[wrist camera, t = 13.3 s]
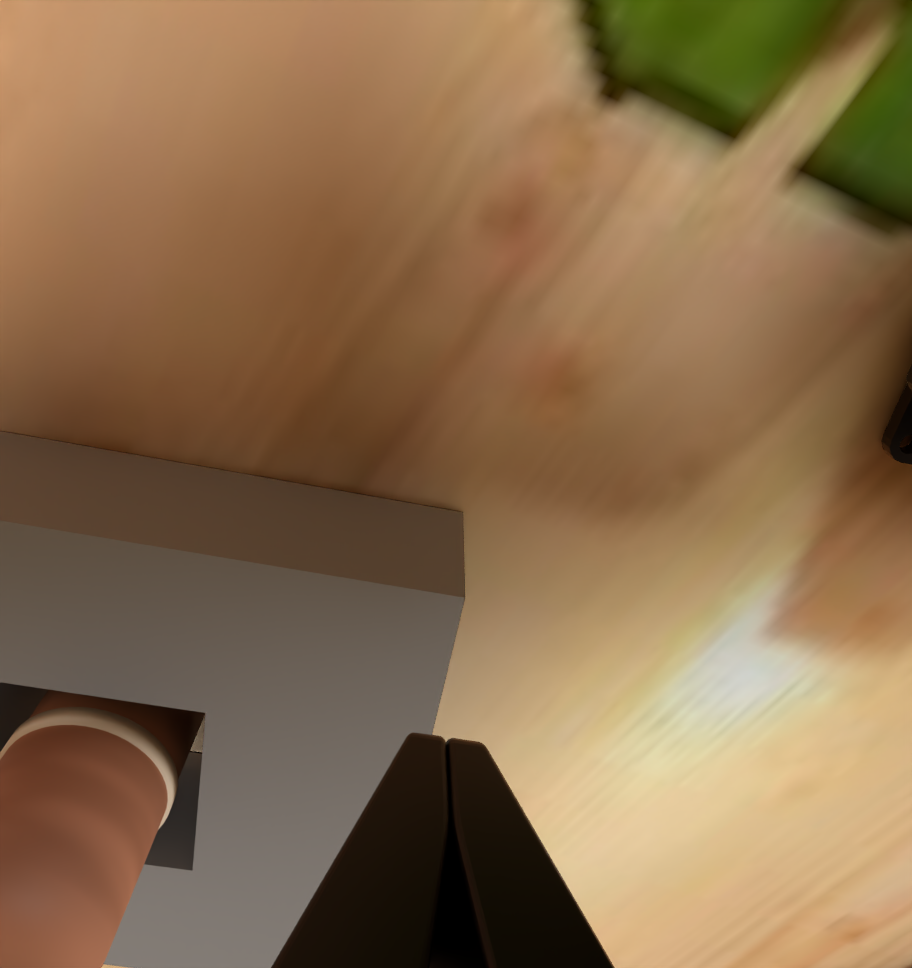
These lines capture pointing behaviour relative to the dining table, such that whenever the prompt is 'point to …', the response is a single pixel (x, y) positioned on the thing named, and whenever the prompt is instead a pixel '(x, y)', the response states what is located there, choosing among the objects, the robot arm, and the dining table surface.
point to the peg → (81, 821)
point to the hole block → (228, 664)
